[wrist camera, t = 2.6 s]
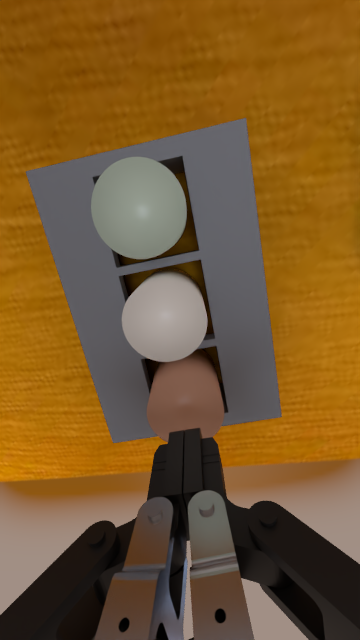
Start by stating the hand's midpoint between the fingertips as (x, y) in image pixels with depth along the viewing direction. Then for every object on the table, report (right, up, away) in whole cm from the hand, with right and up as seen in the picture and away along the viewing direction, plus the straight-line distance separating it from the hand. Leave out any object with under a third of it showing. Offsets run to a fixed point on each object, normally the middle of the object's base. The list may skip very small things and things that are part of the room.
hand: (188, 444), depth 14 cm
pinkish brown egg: (0, +2, +7) cm, 7 cm away
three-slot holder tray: (-1, +8, +8) cm, 11 cm away
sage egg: (-2, +12, +4) cm, 13 cm away
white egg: (-1, +7, +6) cm, 9 cm away
